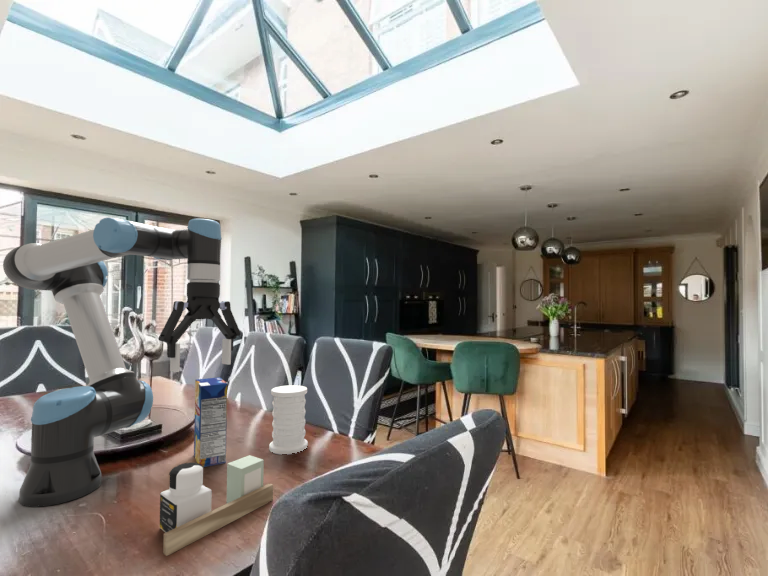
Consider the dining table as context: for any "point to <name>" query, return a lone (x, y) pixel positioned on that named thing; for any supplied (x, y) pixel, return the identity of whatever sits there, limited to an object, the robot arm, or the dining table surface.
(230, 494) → the sage carton
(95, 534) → the dining table surface
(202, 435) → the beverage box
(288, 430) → the decorative container
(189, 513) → the medicine bottle
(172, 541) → the rail
